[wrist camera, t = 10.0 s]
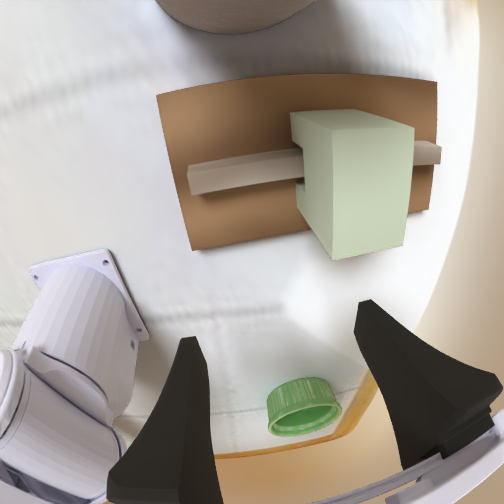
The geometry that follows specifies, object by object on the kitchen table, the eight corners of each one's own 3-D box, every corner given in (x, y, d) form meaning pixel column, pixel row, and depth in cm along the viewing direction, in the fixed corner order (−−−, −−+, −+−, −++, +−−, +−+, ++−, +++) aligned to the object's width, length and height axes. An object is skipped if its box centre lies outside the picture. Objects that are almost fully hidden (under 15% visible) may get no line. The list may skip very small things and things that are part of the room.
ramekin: (334, 365, 31) (346, 396, 28) (329, 399, 36) (338, 425, 33) (258, 384, 31) (264, 417, 27) (266, 414, 36) (272, 442, 32)
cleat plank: (419, 203, 21) (441, 219, 19) (192, 241, 20) (191, 266, 18) (426, 80, 15) (453, 84, 13) (159, 94, 14) (150, 96, 12)
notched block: (354, 198, 19) (402, 245, 14) (296, 207, 18) (332, 260, 13) (353, 108, 15) (414, 127, 10) (289, 112, 15) (331, 130, 10)
